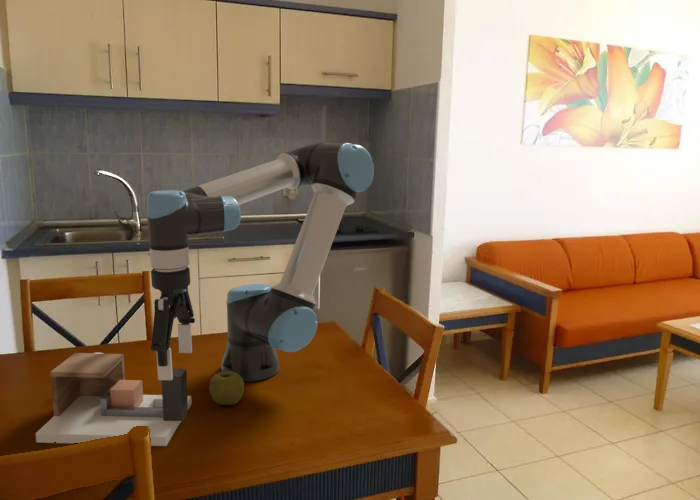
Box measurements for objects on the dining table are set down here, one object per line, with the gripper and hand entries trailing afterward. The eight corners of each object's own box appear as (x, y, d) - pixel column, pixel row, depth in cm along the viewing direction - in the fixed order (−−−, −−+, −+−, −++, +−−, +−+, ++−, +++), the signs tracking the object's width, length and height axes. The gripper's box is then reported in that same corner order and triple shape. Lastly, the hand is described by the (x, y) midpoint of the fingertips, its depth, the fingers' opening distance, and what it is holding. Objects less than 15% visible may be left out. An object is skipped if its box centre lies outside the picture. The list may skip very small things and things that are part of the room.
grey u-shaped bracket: (192, 404, 124) (191, 362, 122) (182, 421, 117) (180, 376, 115) (113, 402, 124) (111, 360, 122) (98, 418, 117) (95, 374, 115)
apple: (214, 395, 134) (213, 367, 132) (247, 396, 133) (247, 368, 132) (205, 410, 126) (204, 380, 125) (240, 411, 126) (240, 382, 125)
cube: (143, 401, 125) (142, 380, 124) (134, 411, 120) (133, 390, 119) (121, 400, 125) (119, 379, 124) (111, 411, 120) (110, 389, 119)
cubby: (125, 395, 128) (123, 354, 126) (105, 417, 118) (103, 373, 116) (78, 393, 128) (75, 352, 126) (54, 416, 118) (50, 371, 116)
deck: (191, 404, 129) (191, 396, 128) (166, 446, 111) (165, 437, 111) (79, 400, 129) (79, 392, 128) (36, 442, 111) (35, 433, 111)
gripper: (171, 253, 125) (176, 342, 129) (127, 284, 100) (135, 392, 105) (204, 254, 125) (209, 342, 129) (168, 284, 100) (175, 392, 105)
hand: (176, 365), depth 117 cm, fingers open, 13 cm apart
